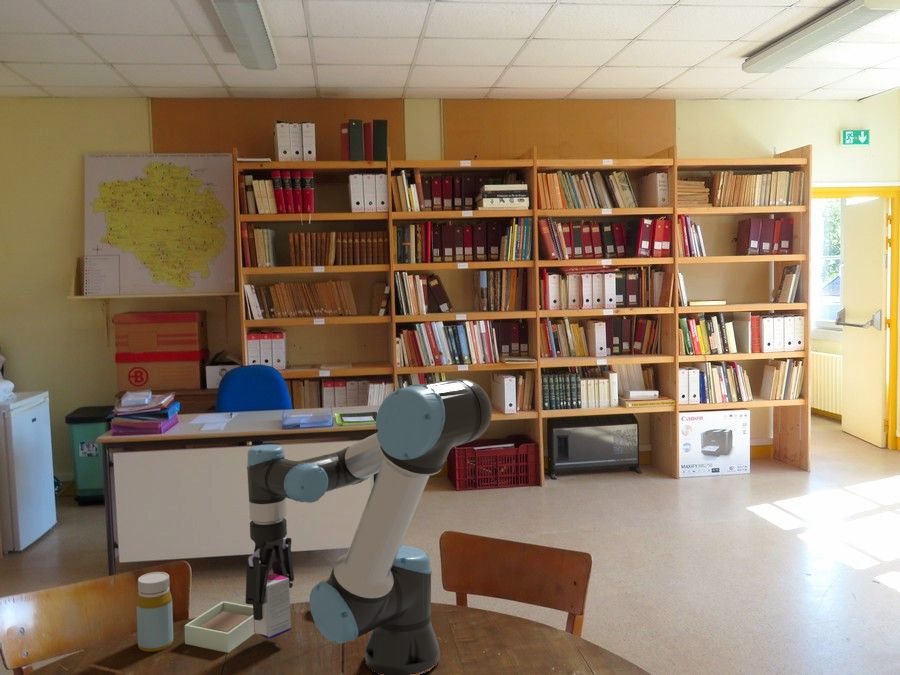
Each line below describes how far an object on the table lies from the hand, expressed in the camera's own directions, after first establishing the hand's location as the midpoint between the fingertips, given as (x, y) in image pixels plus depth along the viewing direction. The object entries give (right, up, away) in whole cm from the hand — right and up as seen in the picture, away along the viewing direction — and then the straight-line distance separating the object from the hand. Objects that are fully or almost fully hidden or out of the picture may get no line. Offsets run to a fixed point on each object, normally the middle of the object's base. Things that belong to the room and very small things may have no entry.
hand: (272, 625), depth 166 cm
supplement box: (0, -1, 0) cm, 1 cm away
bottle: (-25, -5, 0) cm, 25 cm away
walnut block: (-11, -4, +4) cm, 12 cm away
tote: (-11, -4, +4) cm, 12 cm away
